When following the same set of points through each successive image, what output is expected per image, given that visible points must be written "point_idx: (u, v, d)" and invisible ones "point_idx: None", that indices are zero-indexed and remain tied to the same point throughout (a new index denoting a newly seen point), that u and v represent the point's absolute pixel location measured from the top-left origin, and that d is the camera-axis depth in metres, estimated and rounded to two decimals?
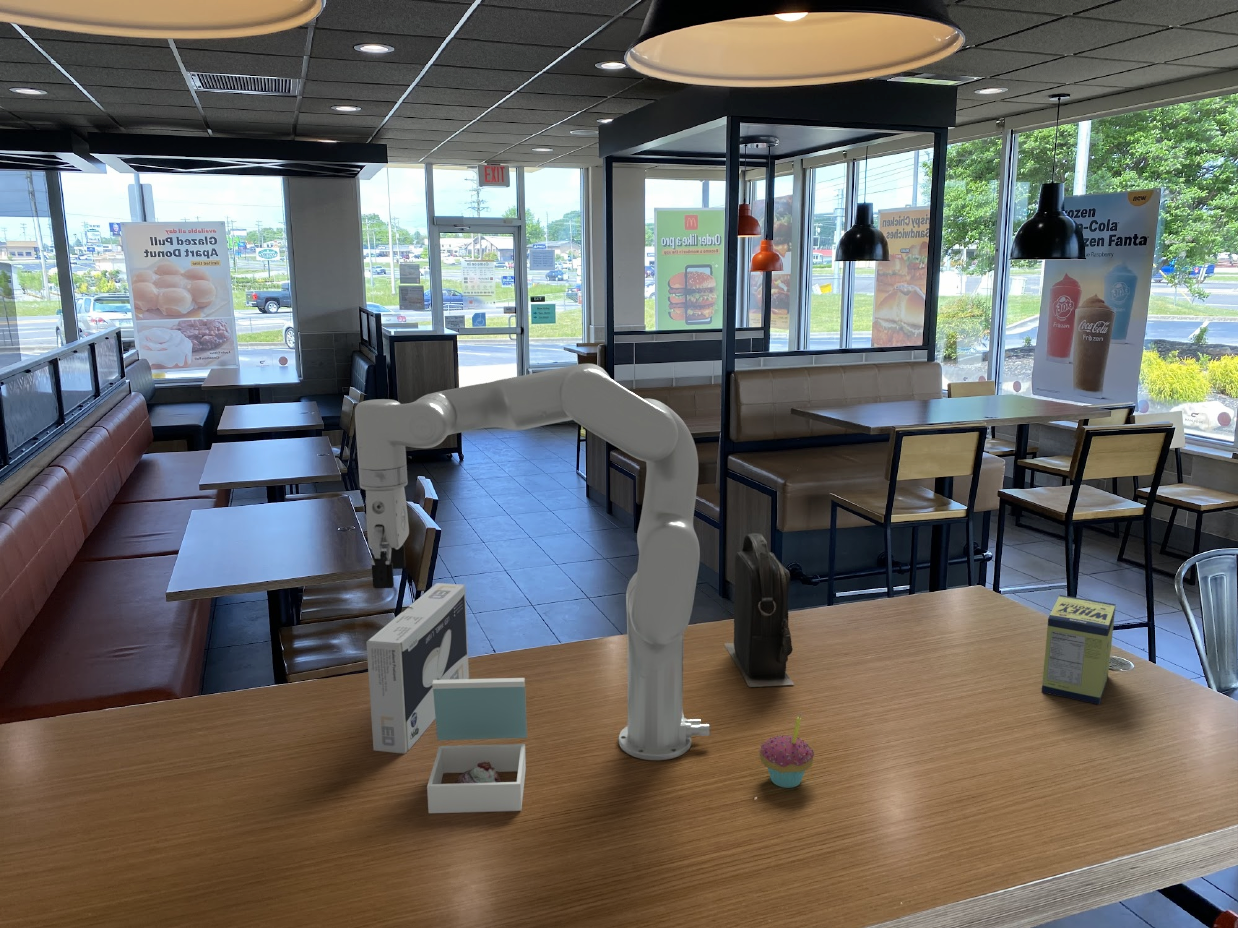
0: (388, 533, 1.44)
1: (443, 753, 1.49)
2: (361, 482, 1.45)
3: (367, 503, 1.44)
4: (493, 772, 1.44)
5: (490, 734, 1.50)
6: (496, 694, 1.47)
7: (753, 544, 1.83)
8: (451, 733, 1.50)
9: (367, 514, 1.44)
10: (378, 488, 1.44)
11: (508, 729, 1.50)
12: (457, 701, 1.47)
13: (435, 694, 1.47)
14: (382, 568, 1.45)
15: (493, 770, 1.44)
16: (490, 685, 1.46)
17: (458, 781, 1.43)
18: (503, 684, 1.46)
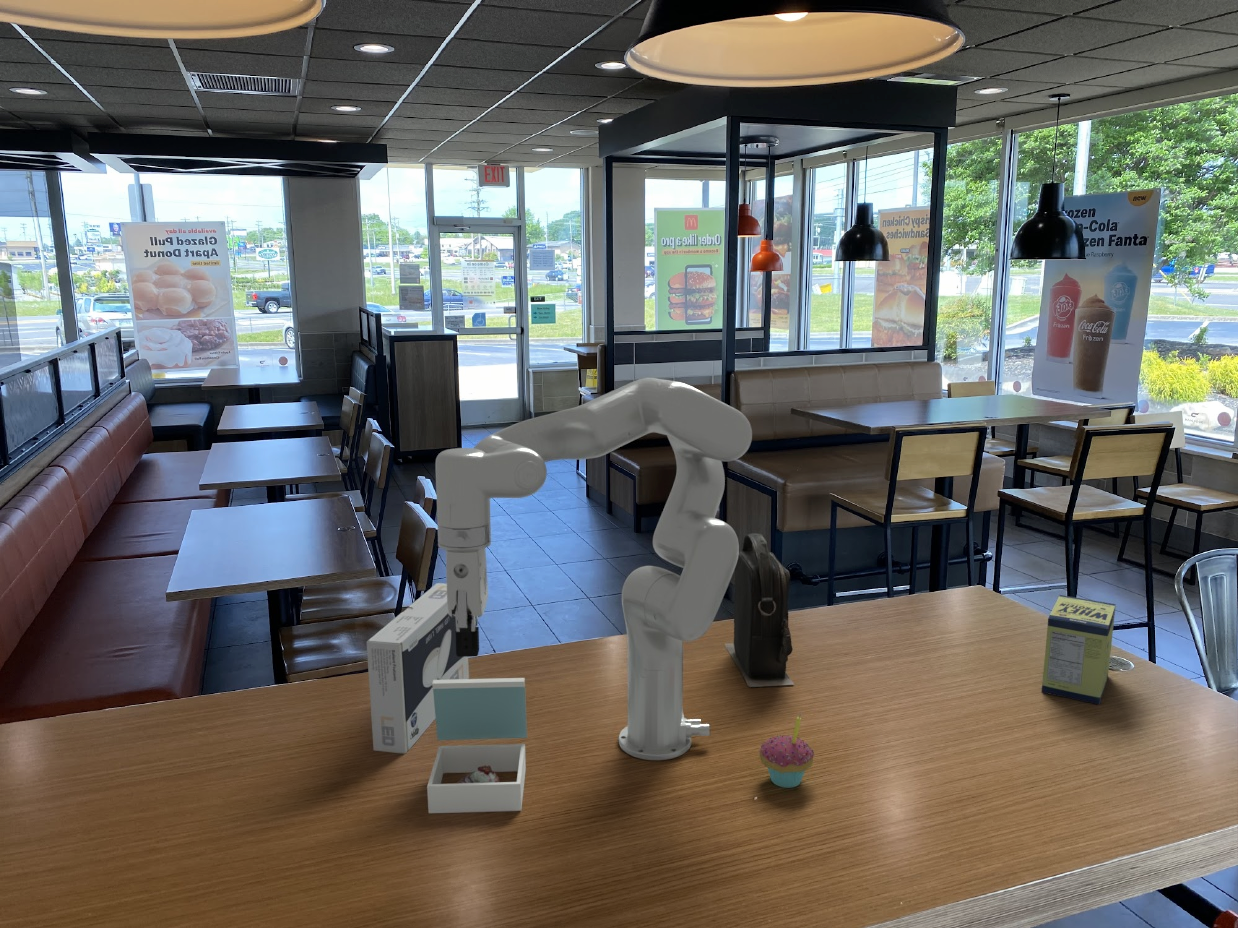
0: (471, 600, 1.28)
1: (443, 753, 1.49)
2: (441, 541, 1.30)
3: (448, 566, 1.28)
4: (493, 776, 1.43)
5: (490, 734, 1.50)
6: (496, 694, 1.47)
7: (753, 544, 1.83)
8: (451, 733, 1.50)
9: (448, 578, 1.28)
10: (461, 549, 1.28)
11: (508, 729, 1.50)
12: (457, 701, 1.47)
13: (435, 694, 1.47)
14: (467, 635, 1.33)
15: (493, 774, 1.43)
16: (490, 685, 1.46)
17: None
18: (503, 684, 1.46)
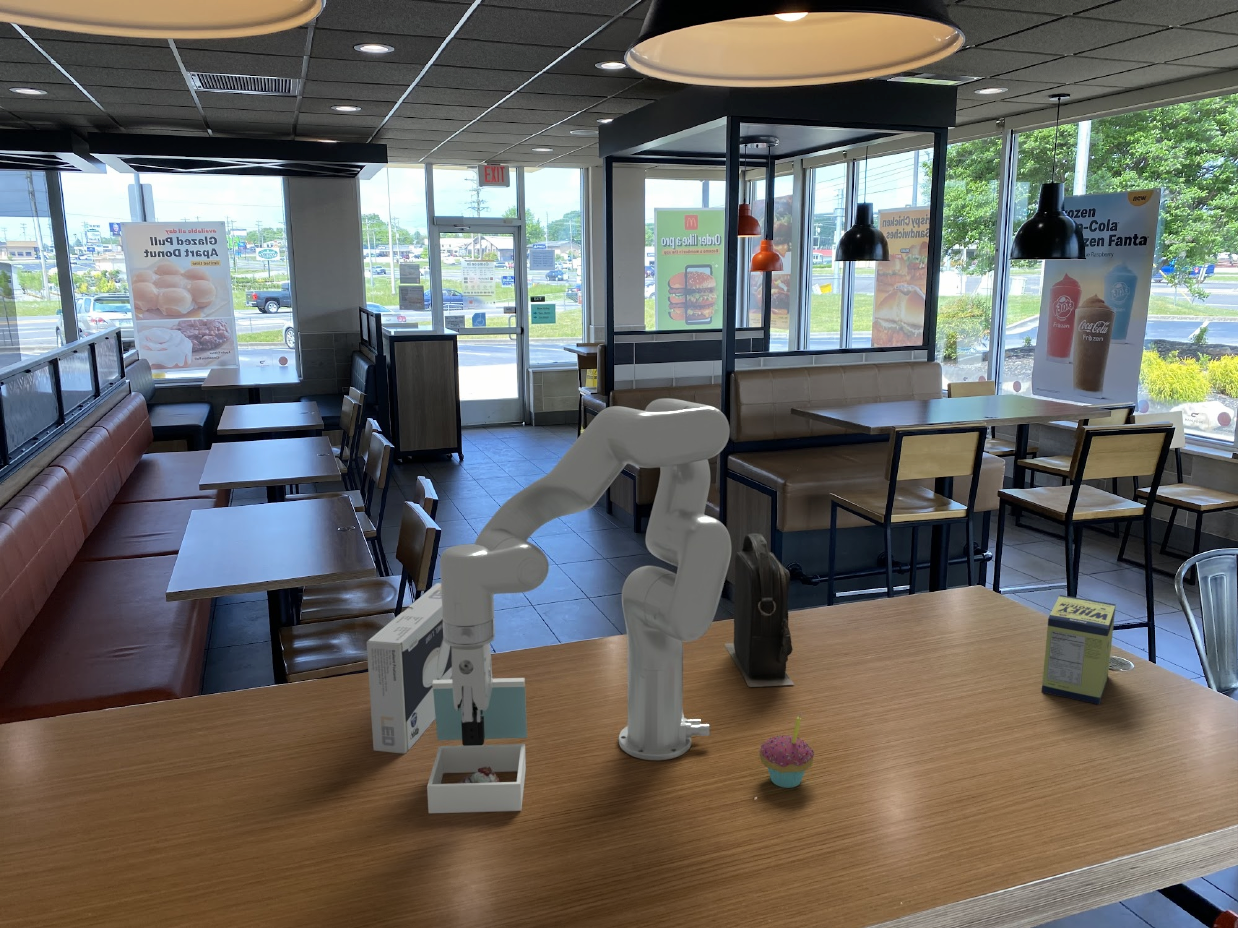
0: (476, 694, 1.32)
1: (443, 753, 1.49)
2: (446, 637, 1.33)
3: (453, 662, 1.31)
4: (494, 777, 1.42)
5: (490, 734, 1.50)
6: (496, 694, 1.47)
7: (753, 544, 1.83)
8: (451, 733, 1.50)
9: (453, 674, 1.31)
10: (465, 645, 1.31)
11: (508, 729, 1.50)
12: None
13: (435, 694, 1.47)
14: (473, 726, 1.36)
15: (494, 775, 1.43)
16: None
17: None
18: (503, 684, 1.46)
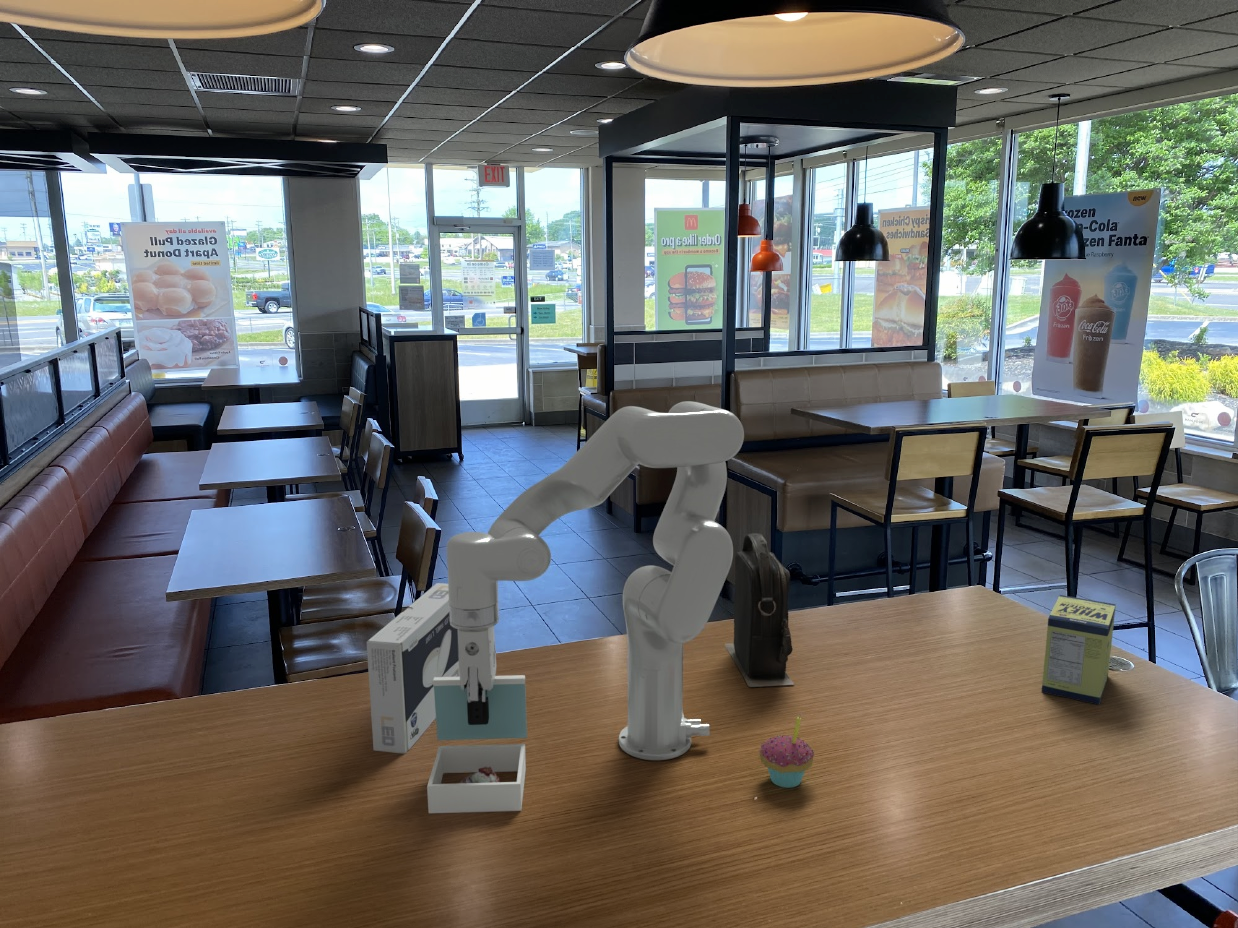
0: (482, 675, 1.38)
1: (443, 753, 1.49)
2: (452, 620, 1.39)
3: (460, 644, 1.37)
4: (494, 777, 1.42)
5: (490, 734, 1.50)
6: (496, 692, 1.48)
7: (753, 544, 1.83)
8: (451, 733, 1.50)
9: (460, 655, 1.38)
10: (471, 628, 1.38)
11: (508, 728, 1.50)
12: (458, 699, 1.48)
13: (436, 692, 1.47)
14: (478, 705, 1.43)
15: (494, 775, 1.43)
16: None
17: None
18: (503, 681, 1.47)
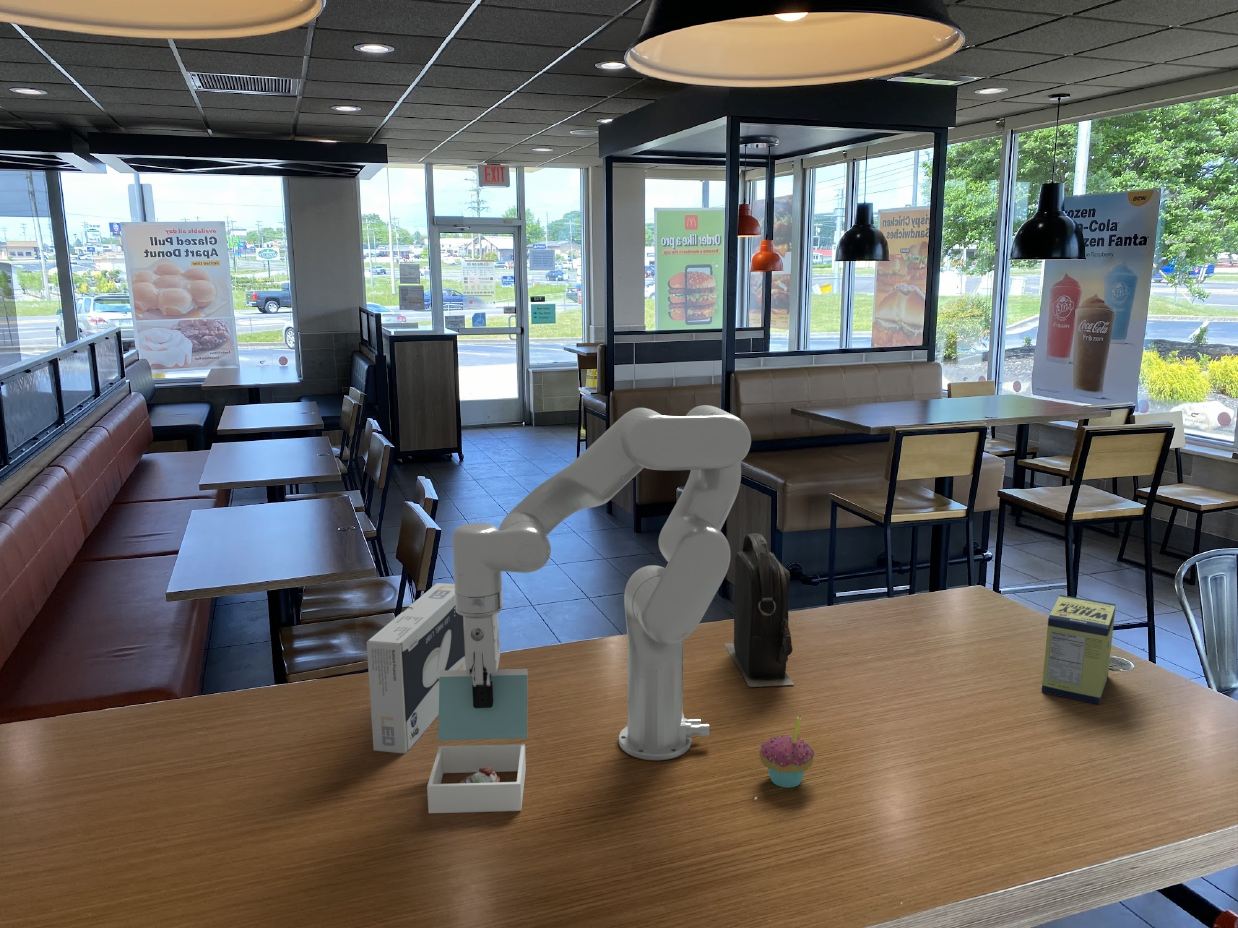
0: (486, 660, 1.44)
1: (443, 753, 1.49)
2: (458, 608, 1.45)
3: (466, 630, 1.44)
4: (494, 777, 1.42)
5: (490, 733, 1.51)
6: (499, 685, 1.53)
7: (754, 544, 1.83)
8: (451, 732, 1.51)
9: (465, 641, 1.44)
10: (476, 615, 1.44)
11: (509, 727, 1.51)
12: (461, 692, 1.52)
13: (441, 684, 1.53)
14: (483, 689, 1.49)
15: (495, 775, 1.43)
16: None
17: None
18: (507, 672, 1.53)
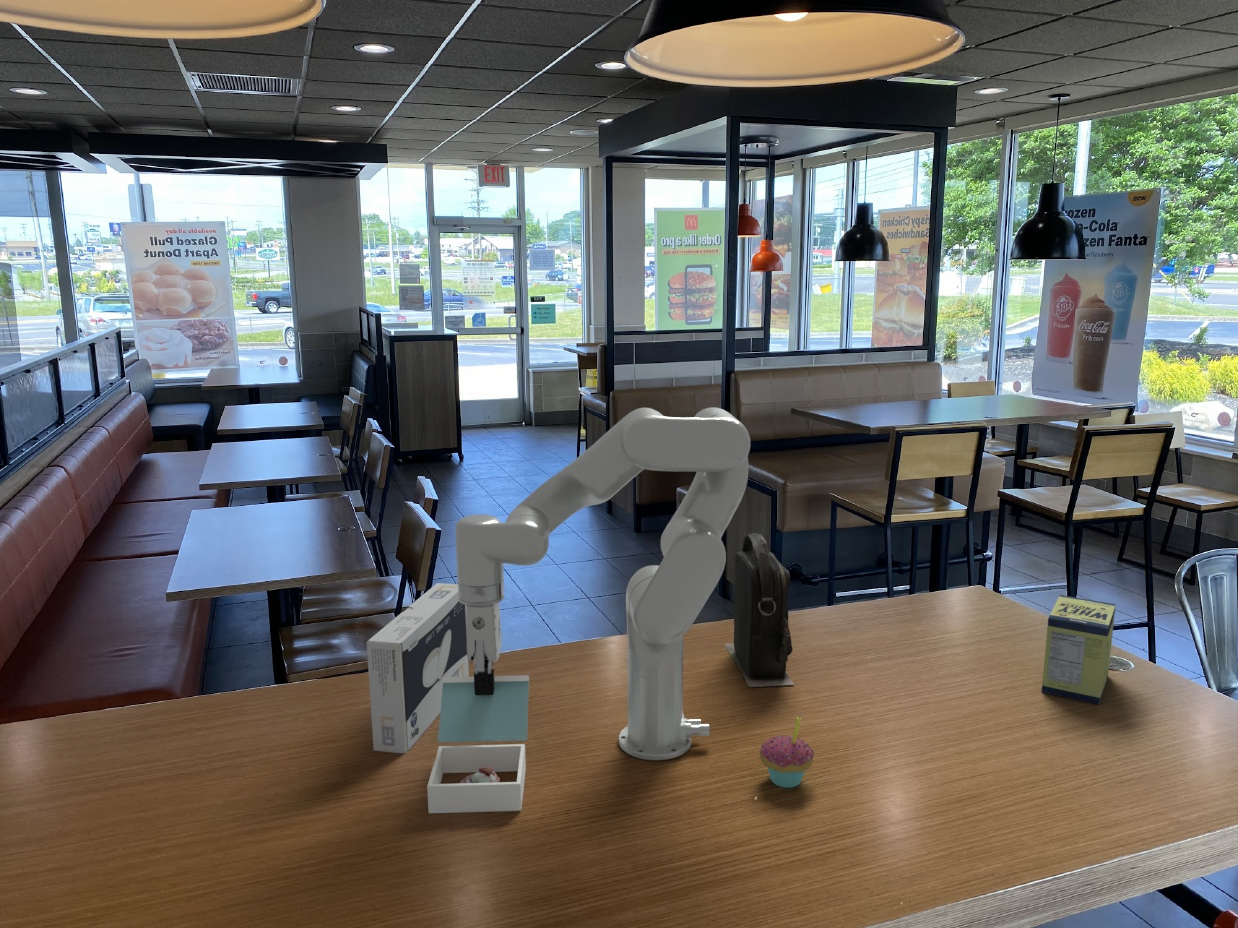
0: (487, 648, 1.48)
1: (443, 753, 1.49)
2: (461, 597, 1.49)
3: (467, 618, 1.48)
4: (494, 777, 1.42)
5: (491, 734, 1.51)
6: (501, 690, 1.56)
7: (753, 544, 1.83)
8: (452, 733, 1.51)
9: (467, 629, 1.48)
10: (478, 604, 1.48)
11: (509, 728, 1.52)
12: (463, 697, 1.55)
13: (444, 689, 1.56)
14: (484, 677, 1.53)
15: (494, 775, 1.43)
16: (496, 679, 1.57)
17: None
18: (509, 678, 1.57)
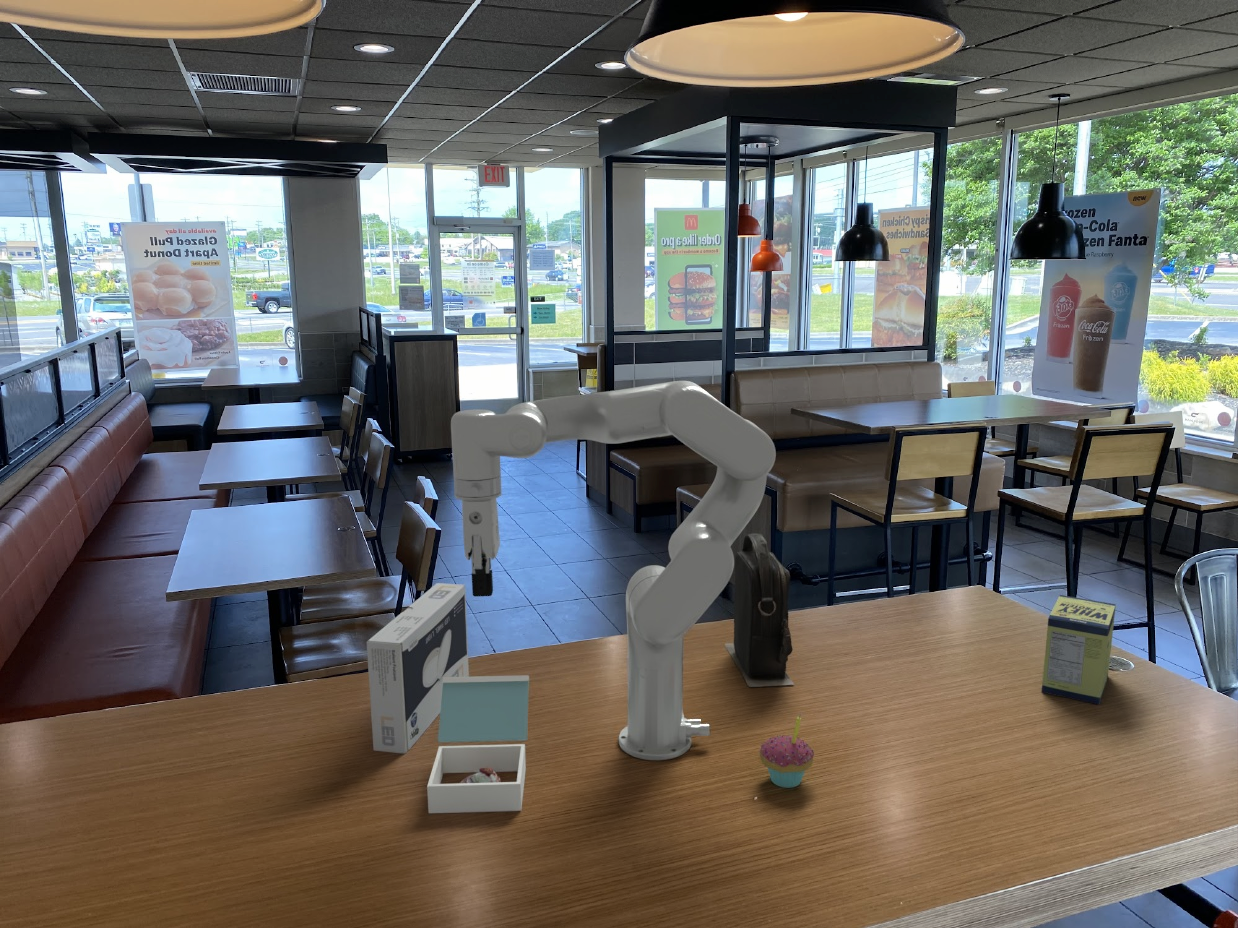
0: (485, 543, 1.45)
1: (443, 753, 1.49)
2: (457, 492, 1.46)
3: (464, 513, 1.44)
4: (495, 778, 1.42)
5: (491, 734, 1.51)
6: (501, 690, 1.56)
7: (753, 544, 1.83)
8: (452, 733, 1.51)
9: (464, 524, 1.44)
10: (475, 498, 1.44)
11: (509, 728, 1.52)
12: (463, 697, 1.55)
13: (444, 689, 1.56)
14: (482, 577, 1.49)
15: (495, 776, 1.43)
16: (496, 679, 1.57)
17: None
18: (509, 678, 1.57)
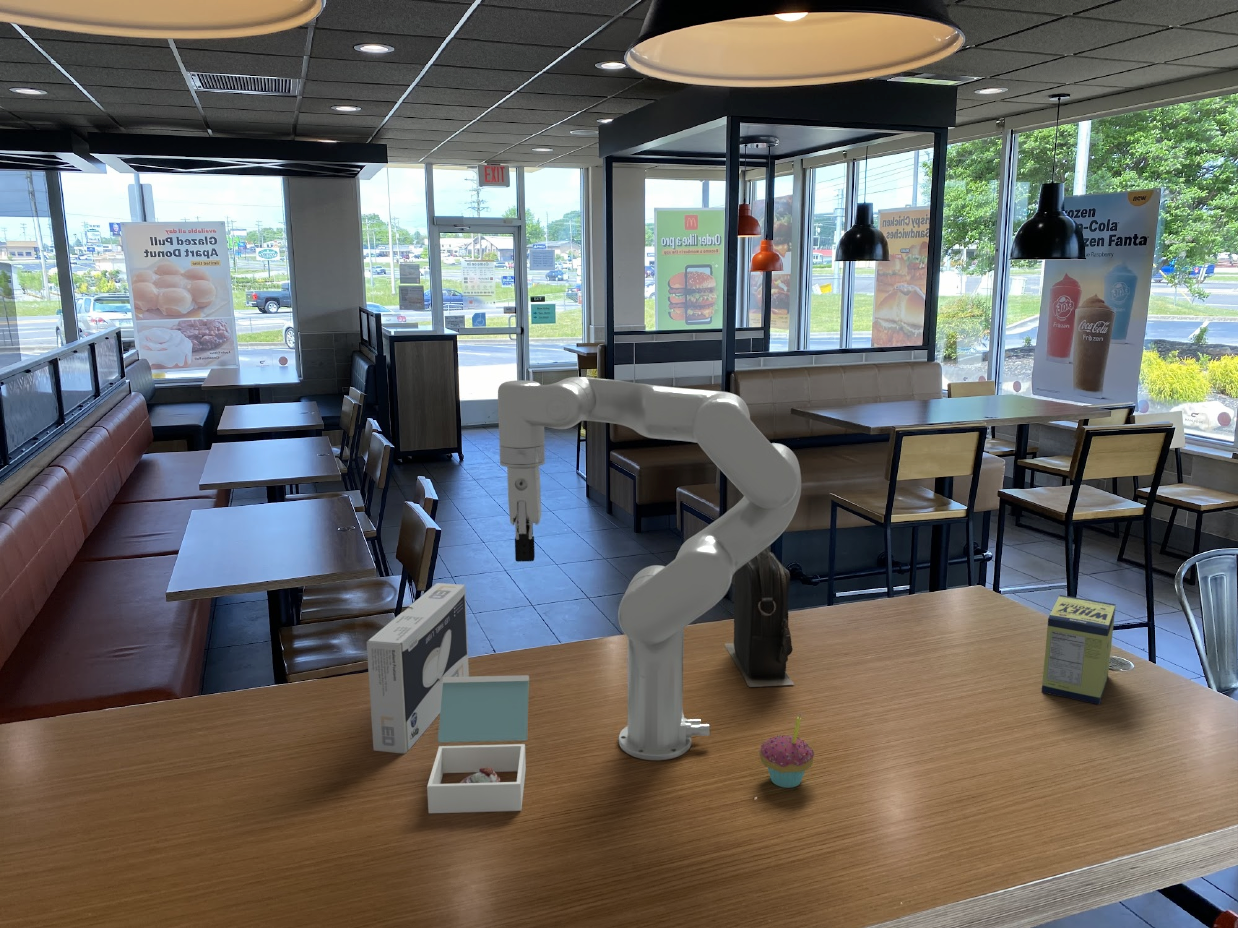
0: (530, 509, 1.50)
1: (443, 753, 1.49)
2: (503, 460, 1.51)
3: (510, 480, 1.50)
4: (495, 778, 1.42)
5: (491, 734, 1.51)
6: (501, 690, 1.56)
7: None
8: (452, 733, 1.51)
9: (510, 491, 1.50)
10: (520, 466, 1.50)
11: (509, 728, 1.52)
12: (463, 697, 1.55)
13: (444, 689, 1.56)
14: (525, 542, 1.55)
15: (495, 776, 1.43)
16: (496, 679, 1.57)
17: None
18: (509, 678, 1.57)
